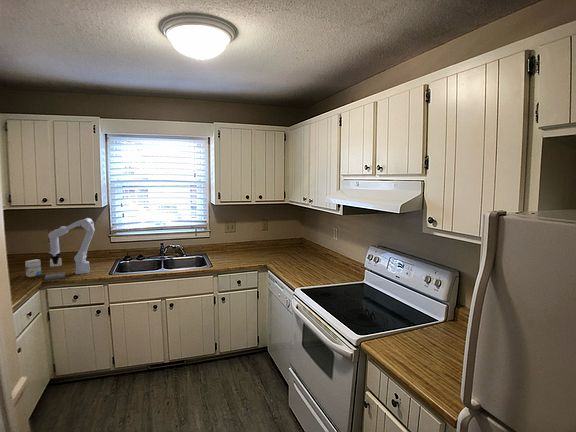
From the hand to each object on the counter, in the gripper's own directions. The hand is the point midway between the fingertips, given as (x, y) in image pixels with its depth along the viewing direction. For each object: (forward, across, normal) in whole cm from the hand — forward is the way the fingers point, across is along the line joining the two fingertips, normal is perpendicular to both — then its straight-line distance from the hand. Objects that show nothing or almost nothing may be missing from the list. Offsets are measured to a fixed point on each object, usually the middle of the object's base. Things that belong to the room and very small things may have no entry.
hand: (55, 263), depth 269 cm
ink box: (+9, -3, -15) cm, 18 cm away
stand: (+8, +12, 0) cm, 14 cm away
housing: (+2, 0, 0) cm, 2 cm away
